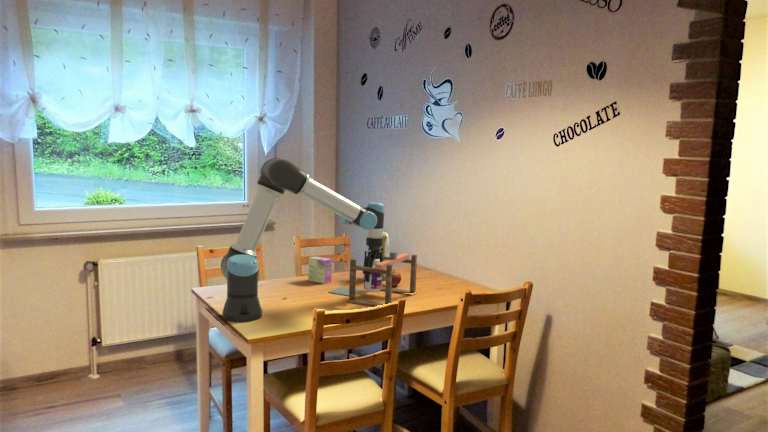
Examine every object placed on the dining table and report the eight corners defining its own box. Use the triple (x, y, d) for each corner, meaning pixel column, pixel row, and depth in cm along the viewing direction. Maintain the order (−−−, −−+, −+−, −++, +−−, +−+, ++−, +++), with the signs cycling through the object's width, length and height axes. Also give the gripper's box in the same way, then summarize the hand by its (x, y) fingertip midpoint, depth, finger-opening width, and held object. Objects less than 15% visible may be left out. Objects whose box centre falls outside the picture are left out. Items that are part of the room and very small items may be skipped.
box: (331, 282, 287) (332, 258, 286) (324, 284, 283) (324, 260, 281) (315, 278, 293) (315, 255, 291) (308, 280, 288) (308, 257, 287)
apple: (392, 282, 290) (393, 267, 289) (404, 285, 284) (404, 269, 283) (381, 285, 284) (381, 269, 283) (392, 288, 279) (393, 272, 278)
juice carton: (387, 280, 294) (389, 234, 291) (372, 280, 294) (373, 233, 291) (387, 276, 303) (389, 231, 300) (372, 276, 303) (374, 230, 300)
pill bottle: (379, 293, 258) (380, 261, 257) (361, 291, 260) (362, 260, 258) (382, 289, 266) (384, 258, 264) (365, 287, 268) (367, 256, 266)
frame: (388, 309, 244) (389, 265, 241) (347, 302, 252) (348, 260, 250) (416, 293, 270) (417, 254, 268) (379, 287, 279) (380, 250, 277)
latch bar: (381, 269, 244) (381, 258, 243) (375, 268, 245) (375, 257, 244) (409, 258, 270) (409, 247, 269) (403, 257, 271) (404, 247, 270)
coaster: (351, 296, 262) (351, 295, 262) (328, 292, 267) (328, 291, 267) (363, 290, 272) (363, 289, 272) (341, 287, 278) (341, 286, 278)
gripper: (371, 240, 249) (368, 292, 252) (392, 235, 268) (389, 283, 270) (356, 238, 252) (353, 289, 255) (377, 233, 271) (375, 281, 274)
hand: (372, 286), depth 263 cm, fingers closed on pill bottle, 8 cm apart
